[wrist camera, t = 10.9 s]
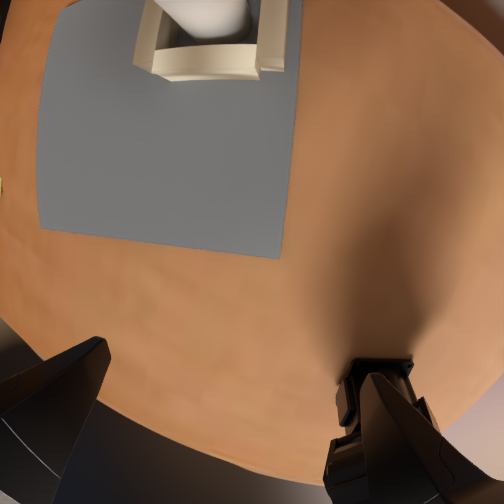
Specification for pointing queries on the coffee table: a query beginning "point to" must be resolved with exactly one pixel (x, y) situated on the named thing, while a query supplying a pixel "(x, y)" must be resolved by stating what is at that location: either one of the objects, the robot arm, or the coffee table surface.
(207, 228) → the jig board
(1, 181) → the toy airplane
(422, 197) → the coffee table surface
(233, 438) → the coffee table surface
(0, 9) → the digital camera
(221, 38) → the blue-domed white cylinder
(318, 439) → the coffee table surface
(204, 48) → the cradle
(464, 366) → the coffee table surface
